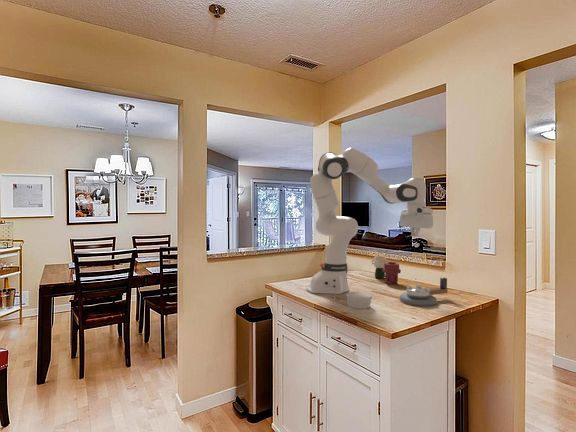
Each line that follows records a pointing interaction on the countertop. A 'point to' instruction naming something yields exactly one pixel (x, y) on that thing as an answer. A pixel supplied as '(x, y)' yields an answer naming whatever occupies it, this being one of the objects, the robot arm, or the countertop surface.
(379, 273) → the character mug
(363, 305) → the ramekin
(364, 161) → the robot arm
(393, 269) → the mechanical component
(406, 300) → the base
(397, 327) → the countertop surface
